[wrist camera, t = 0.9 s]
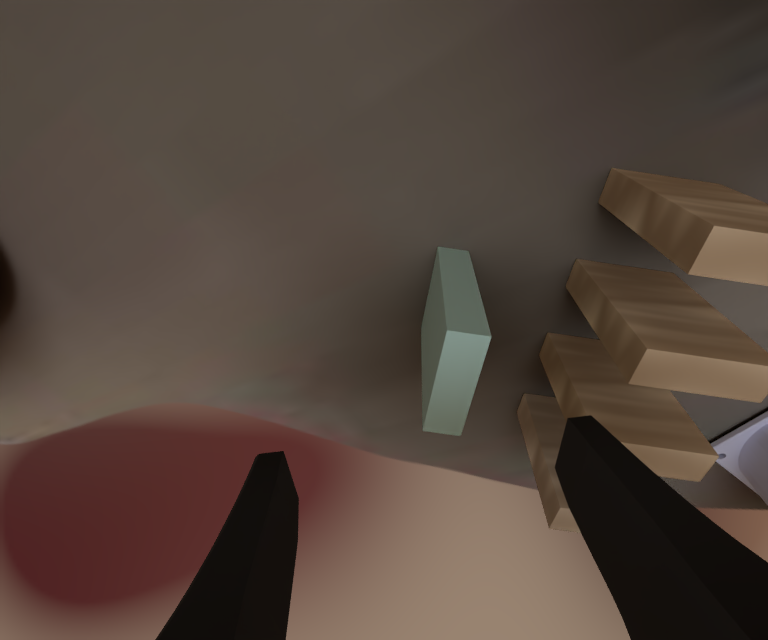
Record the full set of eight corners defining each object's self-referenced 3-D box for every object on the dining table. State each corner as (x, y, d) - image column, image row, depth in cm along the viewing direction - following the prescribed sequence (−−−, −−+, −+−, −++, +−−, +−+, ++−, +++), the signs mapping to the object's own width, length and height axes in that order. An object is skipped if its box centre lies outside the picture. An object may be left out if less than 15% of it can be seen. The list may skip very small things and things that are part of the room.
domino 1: (524, 393, 27) (560, 507, 20) (603, 404, 27) (667, 522, 20) (516, 412, 28) (549, 528, 21) (594, 423, 28) (652, 543, 21)
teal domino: (468, 251, 22) (491, 336, 15) (448, 332, 25) (460, 436, 18) (437, 246, 22) (446, 330, 15) (420, 328, 25) (422, 430, 18)
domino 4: (547, 332, 24) (598, 438, 18) (635, 345, 24) (719, 456, 18) (538, 355, 25) (583, 465, 18) (623, 367, 25) (699, 481, 19)
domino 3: (576, 258, 22) (647, 348, 15) (673, 273, 22) (786, 368, 15) (565, 286, 23) (628, 383, 16) (658, 300, 23) (760, 402, 16)
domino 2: (611, 167, 20) (714, 225, 13) (719, 183, 20) (878, 250, 13) (597, 202, 21) (688, 274, 14) (701, 218, 21) (842, 297, 14)
